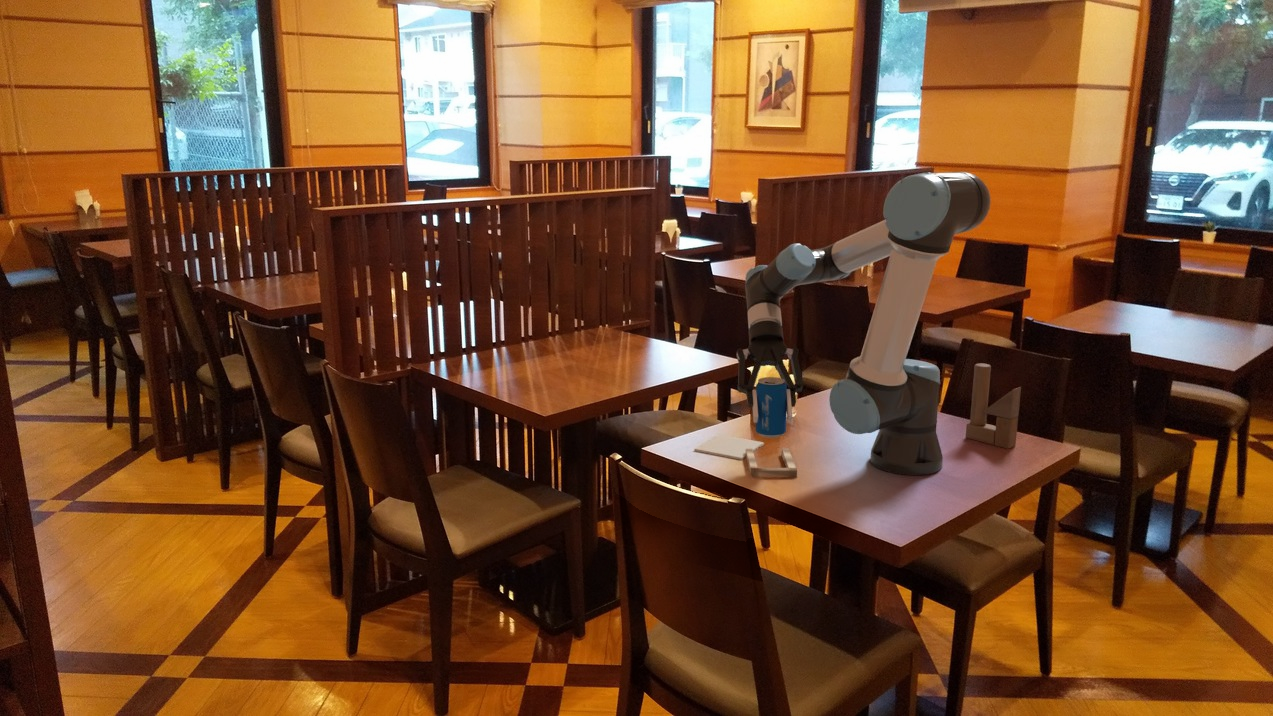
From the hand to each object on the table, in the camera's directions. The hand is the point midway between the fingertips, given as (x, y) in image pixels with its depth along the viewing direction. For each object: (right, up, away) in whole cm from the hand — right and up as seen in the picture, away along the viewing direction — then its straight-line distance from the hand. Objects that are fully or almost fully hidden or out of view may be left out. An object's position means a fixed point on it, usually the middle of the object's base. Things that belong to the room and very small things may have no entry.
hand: (772, 419), depth 188 cm
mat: (-7, -8, +20) cm, 22 cm away
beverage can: (0, -4, +5) cm, 6 cm away
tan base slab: (+1, -11, +8) cm, 13 cm away
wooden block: (+54, -7, +22) cm, 59 cm away
